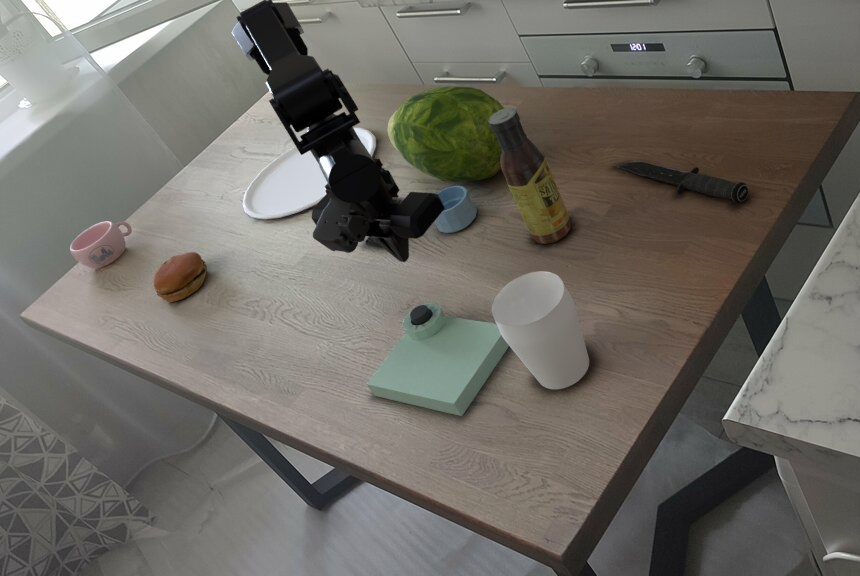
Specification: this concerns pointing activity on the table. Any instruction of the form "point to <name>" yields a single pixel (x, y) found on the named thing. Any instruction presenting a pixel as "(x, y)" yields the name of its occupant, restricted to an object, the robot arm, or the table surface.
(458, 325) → the scale
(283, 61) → the robot arm
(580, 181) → the table surface
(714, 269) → the table surface
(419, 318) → the tare button
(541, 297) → the cup
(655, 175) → the knife
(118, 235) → the mug
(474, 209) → the bowl
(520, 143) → the sauce bottle
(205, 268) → the burger
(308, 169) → the plate
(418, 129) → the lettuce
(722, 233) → the table surface
